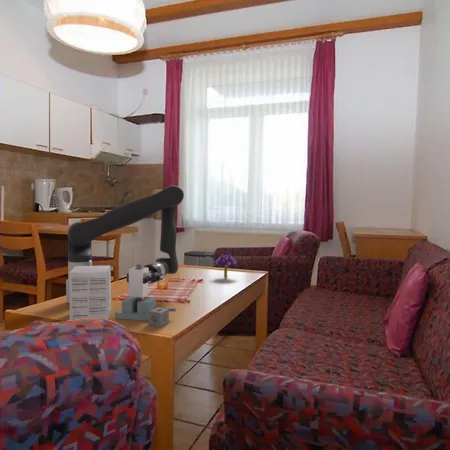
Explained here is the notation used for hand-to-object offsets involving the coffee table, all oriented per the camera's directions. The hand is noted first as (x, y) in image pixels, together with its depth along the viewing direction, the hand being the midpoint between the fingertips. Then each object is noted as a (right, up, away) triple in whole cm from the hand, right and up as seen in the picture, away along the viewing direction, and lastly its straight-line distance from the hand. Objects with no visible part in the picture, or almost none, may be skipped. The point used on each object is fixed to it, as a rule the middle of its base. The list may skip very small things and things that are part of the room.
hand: (136, 280), depth 136 cm
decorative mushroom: (+33, -10, +76) cm, 83 cm away
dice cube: (+9, -14, -6) cm, 18 cm away
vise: (+4, -14, +3) cm, 14 cm away
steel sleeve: (0, -6, +3) cm, 7 cm away
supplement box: (-17, -13, +2) cm, 22 cm away
